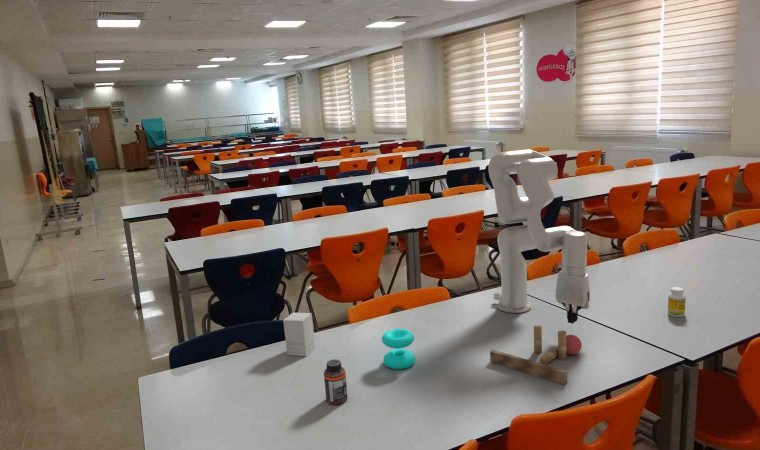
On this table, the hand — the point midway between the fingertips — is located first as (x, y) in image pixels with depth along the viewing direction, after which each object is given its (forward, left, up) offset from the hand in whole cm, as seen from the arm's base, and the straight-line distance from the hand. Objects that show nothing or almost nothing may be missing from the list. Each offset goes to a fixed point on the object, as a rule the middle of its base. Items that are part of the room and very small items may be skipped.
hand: (572, 321), depth 181 cm
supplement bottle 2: (+21, +38, -5) cm, 43 cm away
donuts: (-33, -49, -5) cm, 60 cm away
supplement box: (-66, -62, -5) cm, 91 cm away
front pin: (+3, -16, -4) cm, 16 cm away
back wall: (+1, -31, -5) cm, 32 cm away
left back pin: (-3, -17, -5) cm, 18 cm away
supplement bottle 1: (-32, -76, -5) cm, 83 cm away
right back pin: (+5, -17, -5) cm, 19 cm away
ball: (+6, -13, -2) cm, 14 cm away
